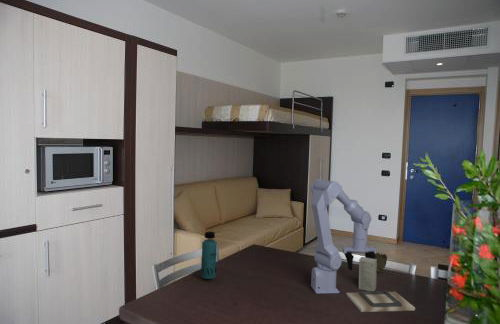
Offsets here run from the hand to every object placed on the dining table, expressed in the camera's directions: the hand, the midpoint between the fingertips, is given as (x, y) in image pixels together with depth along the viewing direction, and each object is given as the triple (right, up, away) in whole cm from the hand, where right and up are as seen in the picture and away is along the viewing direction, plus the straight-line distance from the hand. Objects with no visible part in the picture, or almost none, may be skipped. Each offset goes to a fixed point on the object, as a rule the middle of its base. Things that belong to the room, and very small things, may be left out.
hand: (358, 269), depth 145 cm
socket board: (+1, -6, -20) cm, 21 cm away
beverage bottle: (-64, -3, -3) cm, 64 cm away
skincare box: (+1, -6, -8) cm, 10 cm away
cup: (+13, -5, +12) cm, 18 cm away
